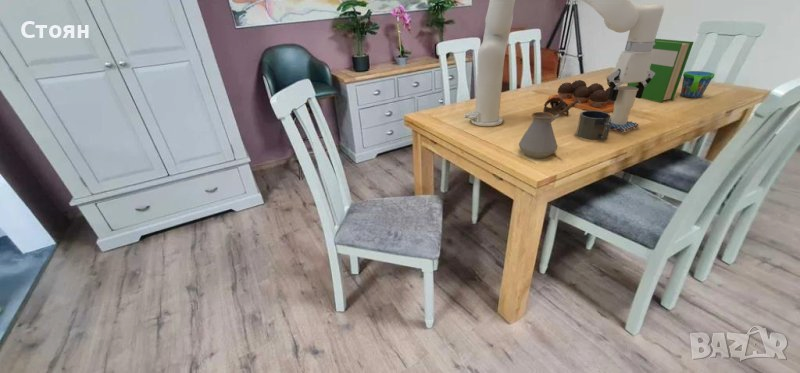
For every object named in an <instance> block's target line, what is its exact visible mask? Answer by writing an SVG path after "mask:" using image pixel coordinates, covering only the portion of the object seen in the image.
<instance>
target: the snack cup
mask: <svg viewBox="0 0 800 373" xmlns="http://www.w3.org/2000/svg"><path fill="white" fill-rule="evenodd" d="M715 75H716V74H715V73H714V72H711V71H710V72H709V71H702V70H687V71H683V74H682V76H683V79H682V82H681V89H680V95H681V97H684V98H685V97H686V98H691V99H696V98H701V97H703V95H704V93H705V91H706V90H707V88H708V86H709V85H710V83H711V81H712V79H714V78H715Z"/></svg>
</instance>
